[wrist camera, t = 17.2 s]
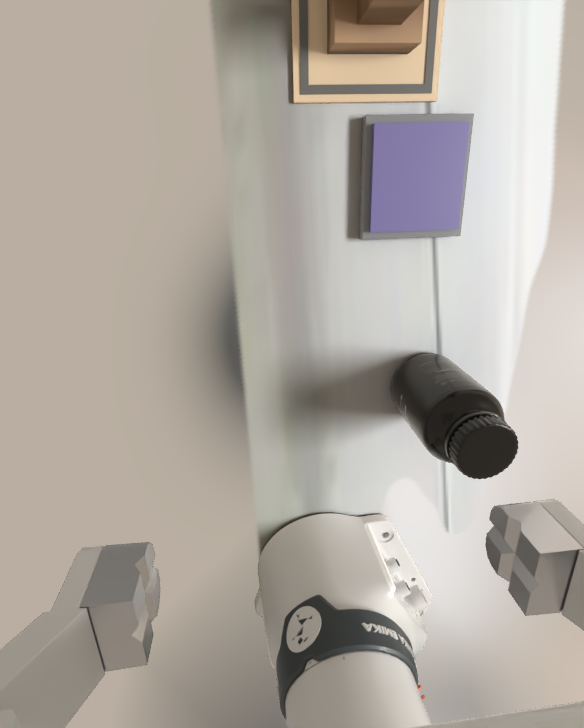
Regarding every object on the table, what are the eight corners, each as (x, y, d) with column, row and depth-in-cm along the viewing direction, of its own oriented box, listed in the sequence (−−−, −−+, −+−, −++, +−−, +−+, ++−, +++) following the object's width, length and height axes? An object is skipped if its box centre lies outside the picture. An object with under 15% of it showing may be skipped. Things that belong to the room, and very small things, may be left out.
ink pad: (454, 234, 37) (463, 236, 36) (359, 238, 37) (364, 240, 35) (467, 115, 34) (477, 112, 33) (362, 117, 33) (368, 114, 32)
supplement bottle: (375, 397, 42) (423, 470, 31) (415, 339, 41) (481, 393, 29) (429, 425, 44) (493, 503, 33) (470, 370, 42) (551, 433, 31)
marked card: (435, 101, 33) (437, 100, 33) (293, 103, 32) (294, 102, 32) (450, -86, 29) (453, -89, 29) (288, -91, 28) (289, -95, 28)
